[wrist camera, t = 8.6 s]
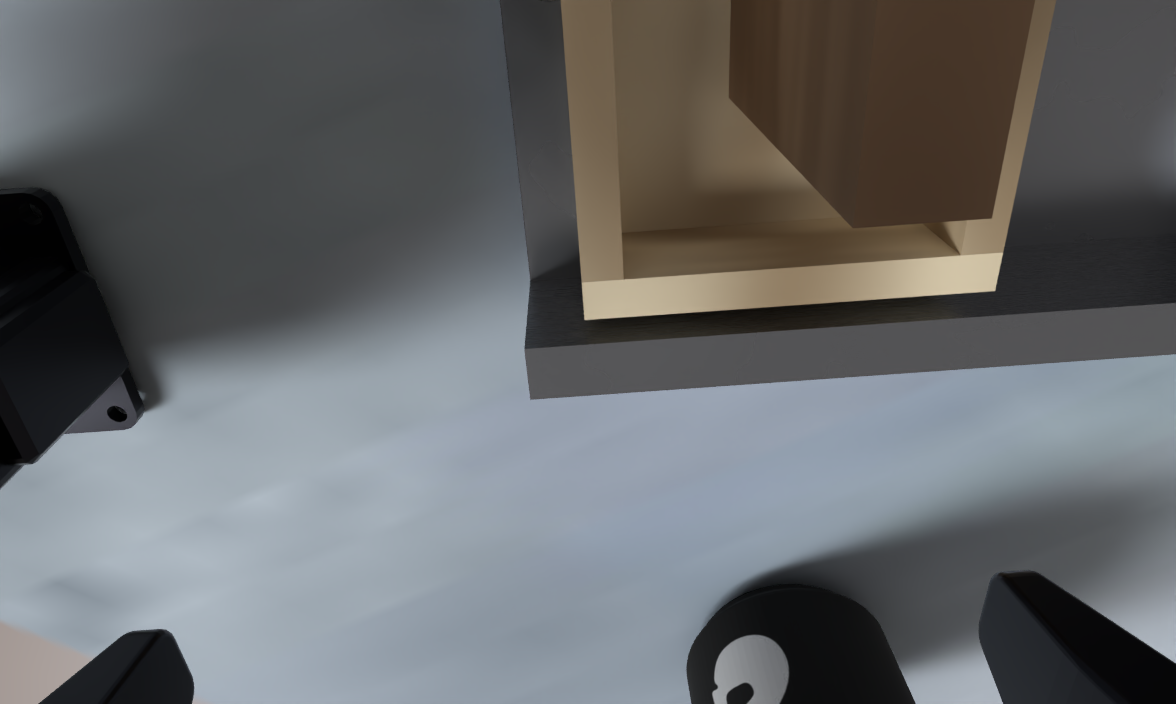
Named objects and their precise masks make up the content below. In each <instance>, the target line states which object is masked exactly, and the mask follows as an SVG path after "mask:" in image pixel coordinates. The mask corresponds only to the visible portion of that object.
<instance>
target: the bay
mask: <svg viewBox="0 0 1176 704" xmlns="http://www.w3.org/2000/svg"><path fill="white" fill-rule="evenodd" d="M500 6H501V15H502V25H503V34H504V43H505V52H506V61H507V70H508V79H509V88H510V98H511V107H512V116H513V125H514V134H515V143H516V152H517V162H518V171H519V180H520V189H521V198H522V207H523V216H524V225H525V235H526V244H527V253H528V262H529V271H530V292H529V303H528V315H527V326H526V338H525V357H526V366H527V374H528V383H529V391H530V399H546V398H560V397H574V396H588V395H602V394H617V393H631V392H645V391H659V390H673V389H688V388H702V387H716V386H730V385H745V384H759V383H773V382H787V381H801V380H816V379H830V378H844V377H858V376H872V375H887V374H901V373H915V372H929V371H943V370H958V369H972V368H986V367H1000V366H1014V365H1029V364H1043V363H1057V362H1071V361H1085V360H1100V359H1114V358H1128V357H1142V356H1156V355H1171V354H1176V0H1056V4H1055V9H1054V13H1053V18H1052V23H1051V28H1050V32H1049V37H1048V42H1047V47H1046V51H1045V56H1044V61H1043V66H1042V70H1041V75H1040V80H1039V85H1038V89H1037V94H1036V99H1035V104H1034V108H1033V113H1032V118H1031V123H1030V127H1029V132H1028V137H1027V142H1026V146H1025V151H1024V156H1023V161H1022V165H1021V170H1020V175H1019V180H1018V184H1017V189H1016V194H1015V199H1014V203H1013V208H1012V213H1011V218H1010V222H1009V227H1008V232H1007V237H1006V241H1005V246H1004V251H1003V256H1002V260H1001V265H1000V270H999V275H998V279H997V284H996V289H995V291H988V292H974V293H960V294H946V295H932V296H918V297H904V298H890V299H876V300H862V301H847V302H833V303H819V304H805V305H791V306H777V307H763V308H749V309H735V310H721V311H706V312H692V313H678V314H664V315H650V316H636V317H622V318H608V319H594V320H584V307H583V293H582V280H581V266H580V253H579V240H578V226H577V213H576V199H575V186H574V172H573V159H572V146H571V132H570V119H569V105H568V92H567V79H566V65H565V52H564V38H563V25H562V11H561V0H500Z"/></svg>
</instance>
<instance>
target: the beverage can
mask: <svg viewBox="0 0 1176 704" xmlns="http://www.w3.org/2000/svg"><path fill="white" fill-rule="evenodd" d="M687 679H688V685H689V691H690V697H691V703H692V704H916V703H915V701H914V699H913V697H912V695H911V692H910V690H909V688H908V686H907V684H906V681H905V679H904V677H903V675H902V672H901V670H900V668H899V666H898V664H897V661H896V659H895V657H894V655H893V653H892V650H891V648H890V646H889V644H888V642H887V639H886V637H885V635H884V633H883V631H882V628H881V626H880V625H879V623H878V622H877V620H876V619H875V618H874V617H873V616H872V615H871V614H870V613H869V612H868V611H867V610H866V609H865V608H864V607H862V606H861V605H859V604H858V603H856V602H855V601H853V600H851V599H849V598H847V597H844V596H841V595H838V594H835V593H833V592H830V591H828V590H825V589H822V588H818V587H814V586H808V585H799V584H785V585H776V586H770V587H765V588H761V589H757V590H754V591H752V592H749V593H746V594H744V595H742V596H740V597H738V598H736V599H734V600H733V601H731V602H729V603H728V604H727V605H725V606H724V607H722V608H721V609H720V610H719V611H718V612H717V613H716V614H715V615H714V616H713V617H712V618H711V620H710V621H709V622H708V624H707V625H706V626H705V627H704V628H703V629H702V631H701V632H700V633H699V635H698V636H697V637H696V639H695V641H694V643H693V645H692V647H691V649H690V652H689V655H688V660H687Z"/></svg>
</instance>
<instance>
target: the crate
mask: <svg viewBox="0 0 1176 704" xmlns="http://www.w3.org/2000/svg"><path fill="white" fill-rule="evenodd" d="M1055 4H1056V0H561V11H562V25H563V38H564V52H565V65H566V79H567V92H568V105H569V119H570V132H571V146H572V159H573V172H574V186H575V199H576V213H577V226H578V240H579V253H580V266H581V280H582V293H583V307H584V320H594V319H608V318H622V317H636V316H650V315H664V314H678V313H692V312H706V311H721V310H735V309H749V308H763V307H777V306H791V305H805V304H819V303H833V302H847V301H862V300H876V299H890V298H904V297H918V296H932V295H946V294H960V293H974V292H988V291H995V289H996V284H997V279H998V275H999V270H1000V265H1001V260H1002V256H1003V251H1004V246H1005V241H1006V237H1007V232H1008V227H1009V222H1010V218H1011V213H1012V208H1013V203H1014V199H1015V194H1016V189H1017V184H1018V180H1019V175H1020V170H1021V165H1022V161H1023V156H1024V151H1025V146H1026V142H1027V137H1028V132H1029V127H1030V123H1031V118H1032V113H1033V108H1034V104H1035V99H1036V94H1037V89H1038V85H1039V80H1040V75H1041V70H1042V66H1043V61H1044V56H1045V51H1046V47H1047V42H1048V37H1049V32H1050V28H1051V23H1052V18H1053V13H1054V9H1055Z"/></svg>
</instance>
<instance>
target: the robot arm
mask: <svg viewBox="0 0 1176 704" xmlns="http://www.w3.org/2000/svg"><path fill="white" fill-rule="evenodd" d="M29 204H33V205H34V206H36V207H38V208H39V210H40V211H41V213H42V217H43V219H42V218H39V217H37V216H35V215H34V214H33V213H32V211H31V210H30V207H29ZM115 406H118V407H121V408H122V409H124V410H125V411H126V413H127V414H125V413H122V412H120V411H118V410H117V408H116V407H115ZM143 413H144V406H143V403H142V400H141V398H140V395H139V393H138V390H137V388H136V386H135V383H134V381H133V378H132V376H131V373H130V371H129V369H128V360H127V357H126V355H125V352H124V350H123V347H122V345H121V343H120V340H119V338H118V335H117V333H116V330H115V328H114V325H113V323H112V320H111V318H110V316H109V313H108V311H107V308H106V306H105V303H104V301H103V298H102V296H101V294H100V291H99V289H98V286H97V284H96V281H95V279H94V278H93V277H92V276H91V275H90V273H89V271H88V268H87V266H86V264H85V261H84V259H83V256H82V254H81V251H80V249H79V247H78V244H77V242H76V239H75V237H74V234H73V232H72V229H71V227H70V225H69V222H68V220H67V217H66V215H65V212H64V210H63V207H62V206H61V204H60V202H59V201H58V199H57V198H56V197H54V196H53V195H52V194H51V193H50V192H48V191H45V190H43V189H41V188H18V189H4V190H0V489H1V488H2V487H3V486H4V485H5V484H6V483H7V482H8V481H9V480H10V479H11V478H12V477H13V476H14V475H15V474H16V473H17V472H18V471H19V470H20V469H21V468H22V467H23V466H24V465H27V464H33V463H35V462H37V461H38V460H39V459H40V458H41V457H42V456H43V455H44V454H45V453H46V452H47V451H48V450H49V449H50V448H51V447H52V446H53V445H54V444H55V443H56V442H57V441H58V440H59V439H60V437H61V436H62V435H63V434H70V433H84V432H98V431H113V430H125V429H129V428H131V427H132V426H134V425H135V424H136V423H137V422H138V420H139V419H140V418H141V417H142V415H143ZM979 638H980V643H981V646H982V649H983V652H984V654H985V657H986V660H987V662H988V665H989V668H990V670H991V673H992V675H993V678H994V681H995V683H996V686H997V689H998V691H999V694H1000V696H1001V699H1002V702H1003V704H1176V663H1174V662H1173V661H1171V660H1170V659H1168V658H1167V657H1165V656H1164V655H1162V654H1161V653H1159V652H1158V651H1156V650H1155V649H1153V648H1152V647H1150V646H1149V645H1147V644H1146V643H1144V642H1143V641H1141V640H1140V639H1138V638H1137V637H1135V636H1134V635H1132V634H1131V633H1129V632H1128V631H1126V630H1124V629H1123V628H1121V627H1120V626H1118V625H1117V624H1115V623H1114V622H1112V621H1111V620H1109V619H1108V618H1106V617H1105V616H1103V615H1102V614H1100V613H1099V612H1097V611H1096V610H1094V609H1093V608H1091V607H1090V606H1088V605H1087V604H1085V603H1084V602H1082V601H1081V600H1079V599H1078V598H1076V597H1075V596H1073V595H1072V594H1070V593H1069V592H1067V591H1066V590H1064V589H1063V588H1061V587H1059V586H1058V585H1056V584H1055V583H1053V582H1052V581H1050V580H1049V579H1047V578H1046V577H1044V576H1043V575H1041V574H1039V573H1037V572H1035V571H1030V570H1024V571H1009V572H999V573H996V574H995V575H994V576H993V577H992V578H991V580H990V583H989V587H988V591H987V595H986V598H985V602H984V606H983V610H982V614H981V618H980V622H979ZM193 696H194V682H193V677H192V675H191V672H190V670H189V668H188V666H187V664H186V662H185V659H184V657H183V655H182V653H181V651H180V649H179V647H178V645H177V642H176V640H175V638H174V636H173V635H172V634H171V633H170V632H169V631H167V630H164V629H154V630H139V631H132V632H129V633H126V634H125V635H123V636H122V637H120V638H119V639H117V640H116V641H115V642H114V643H113V644H111V645H110V646H109V647H108V648H106V649H105V650H104V651H103V652H101V653H100V654H99V655H98V656H97V657H95V658H94V659H93V660H92V661H90V662H89V663H88V664H87V665H86V666H84V667H83V668H82V669H81V670H79V671H78V672H77V673H76V674H75V675H73V676H72V677H71V678H70V679H68V680H67V681H66V682H65V683H63V684H62V685H61V686H60V687H59V688H57V689H56V690H55V691H54V692H52V693H51V694H50V695H49V696H48V697H46V698H45V699H44V700H42V701H41V702H40V703H39V704H192V701H193Z"/></svg>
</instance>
